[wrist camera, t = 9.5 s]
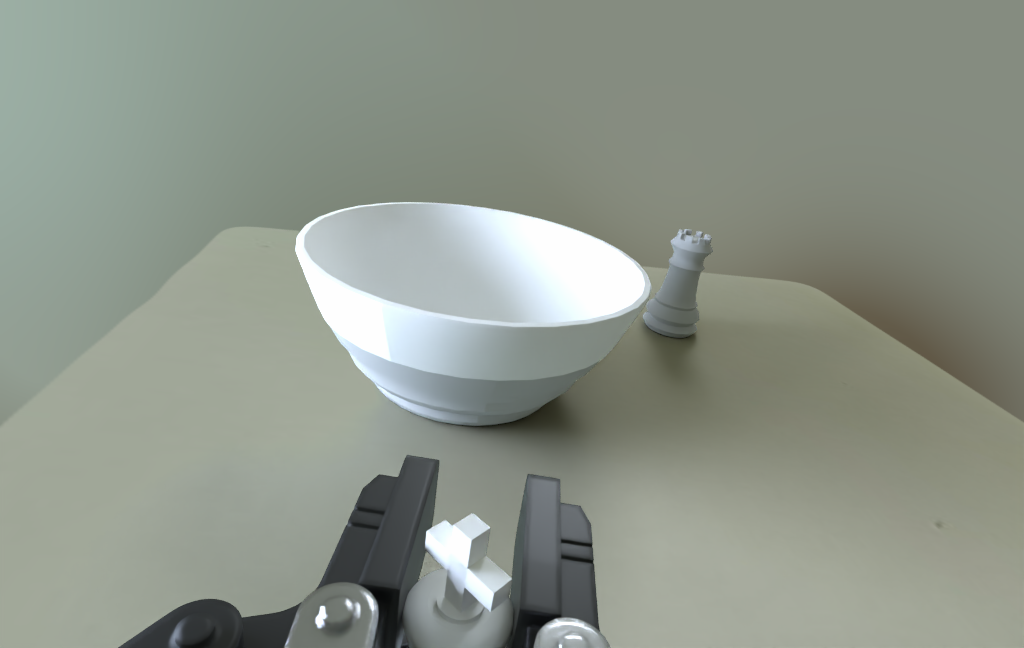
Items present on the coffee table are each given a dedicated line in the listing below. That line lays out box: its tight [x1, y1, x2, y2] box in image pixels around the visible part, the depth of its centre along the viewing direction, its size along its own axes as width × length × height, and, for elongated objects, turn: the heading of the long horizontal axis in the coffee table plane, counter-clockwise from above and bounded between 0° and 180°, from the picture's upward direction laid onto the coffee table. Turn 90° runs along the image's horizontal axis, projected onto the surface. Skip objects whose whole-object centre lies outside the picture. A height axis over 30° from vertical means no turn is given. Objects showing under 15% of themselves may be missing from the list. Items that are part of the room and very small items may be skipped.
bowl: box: [296, 202, 651, 426], centre depth 35 cm, size 20×19×8 cm
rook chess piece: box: [643, 229, 713, 338], centre depth 47 cm, size 4×4×8 cm
